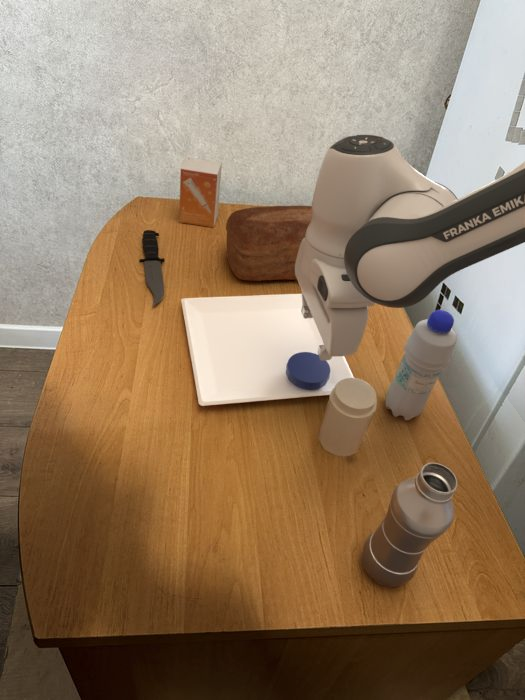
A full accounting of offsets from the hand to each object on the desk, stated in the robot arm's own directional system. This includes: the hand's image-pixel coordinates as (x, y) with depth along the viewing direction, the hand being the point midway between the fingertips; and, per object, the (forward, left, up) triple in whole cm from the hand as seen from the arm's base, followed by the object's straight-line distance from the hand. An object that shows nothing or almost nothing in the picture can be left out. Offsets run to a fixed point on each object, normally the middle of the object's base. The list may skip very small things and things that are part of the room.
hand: (315, 335), depth 80 cm
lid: (0, 0, -8) cm, 8 cm away
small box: (+23, -49, -11) cm, 55 cm away
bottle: (-16, +3, -11) cm, 20 cm away
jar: (-5, +11, -11) cm, 16 cm away
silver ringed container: (-9, +30, -11) cm, 33 cm away
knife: (+30, -27, -11) cm, 42 cm away
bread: (+2, -34, -11) cm, 36 cm away
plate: (+7, -7, -11) cm, 15 cm away
